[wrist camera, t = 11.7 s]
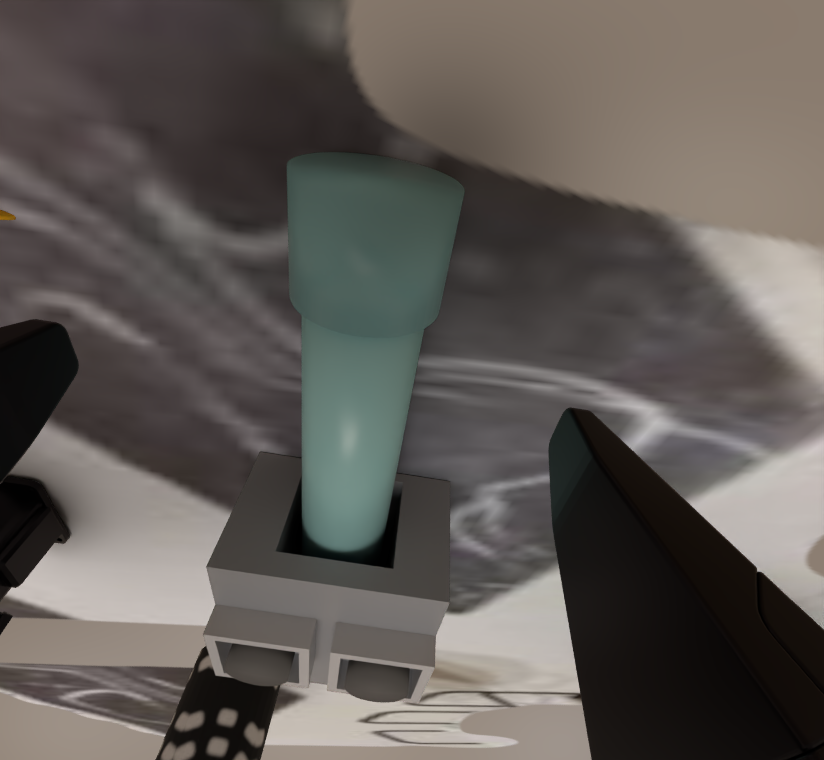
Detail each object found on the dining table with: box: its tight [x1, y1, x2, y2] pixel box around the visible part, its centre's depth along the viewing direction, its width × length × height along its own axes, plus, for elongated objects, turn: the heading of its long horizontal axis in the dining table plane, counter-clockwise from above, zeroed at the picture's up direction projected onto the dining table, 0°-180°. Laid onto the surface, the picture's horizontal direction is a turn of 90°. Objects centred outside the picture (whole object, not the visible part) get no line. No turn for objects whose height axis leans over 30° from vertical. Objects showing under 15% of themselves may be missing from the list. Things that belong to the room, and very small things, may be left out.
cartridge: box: [287, 152, 465, 566], centre depth 19 cm, size 20×5×5 cm, turn 171°
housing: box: [203, 452, 450, 703], centre depth 26 cm, size 11×12×8 cm
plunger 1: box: [224, 643, 295, 686], centre depth 23 cm, size 3×3×2 cm
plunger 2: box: [344, 660, 410, 702], centre depth 23 cm, size 3×3×2 cm
